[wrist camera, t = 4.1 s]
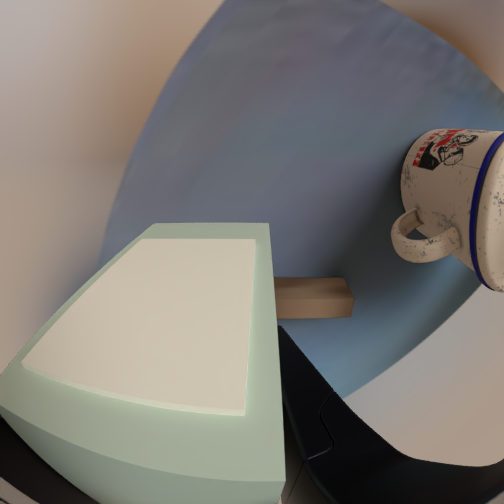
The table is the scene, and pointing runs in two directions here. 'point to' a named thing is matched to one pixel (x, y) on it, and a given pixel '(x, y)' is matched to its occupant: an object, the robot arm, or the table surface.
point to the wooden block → (312, 298)
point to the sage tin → (161, 373)
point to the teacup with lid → (455, 201)
